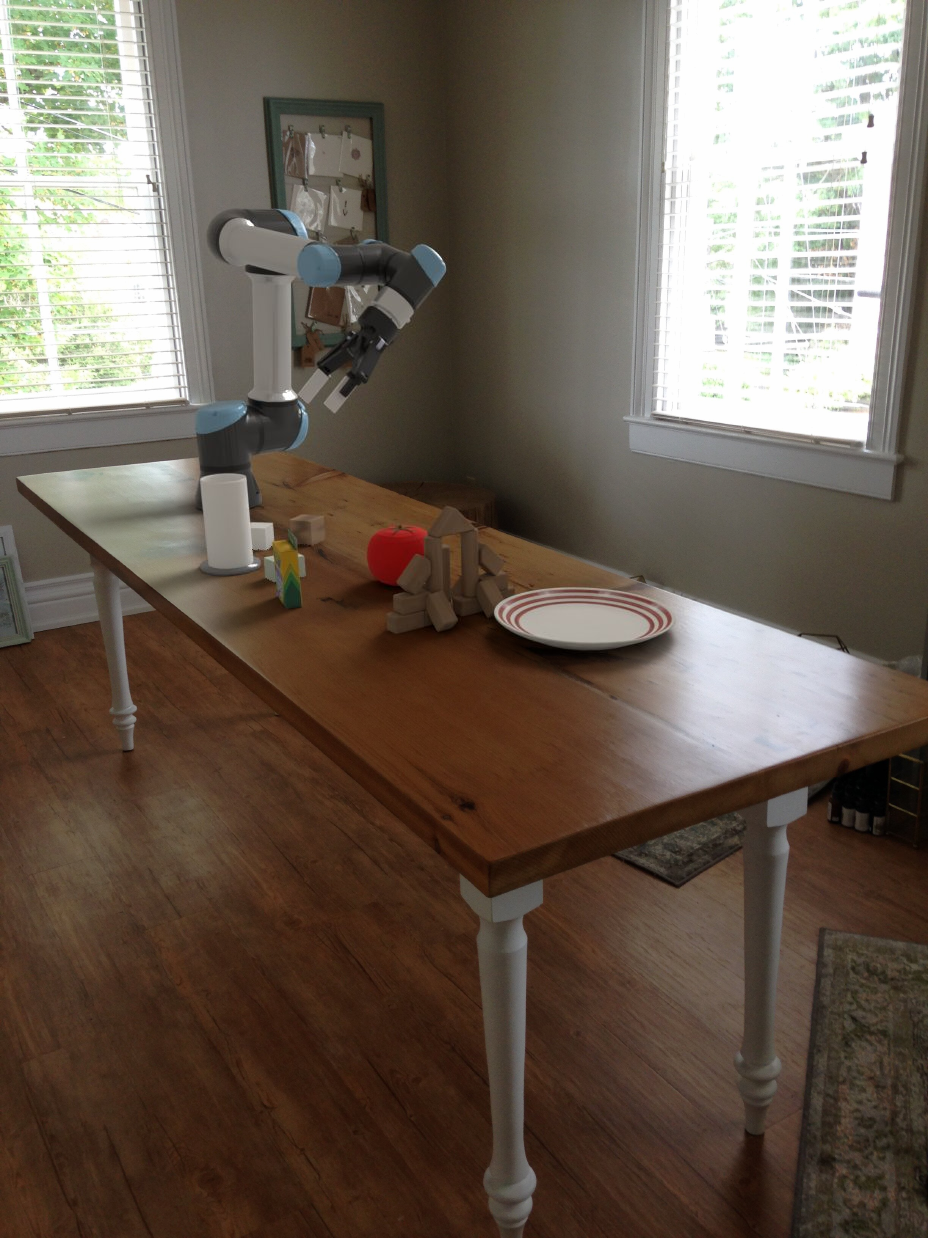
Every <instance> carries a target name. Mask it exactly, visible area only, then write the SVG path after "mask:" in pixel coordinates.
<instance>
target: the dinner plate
mask: <svg viewBox="0 0 928 1238" xmlns="http://www.w3.org/2000/svg"><path fill="white" fill-rule="evenodd" d="M494 616H495V617H494V618H495V619H496V621H497V622H498V623H499V624H500V625H501V626H502V627H504V628H505V629H507V630H508V631H510V632H512V633H514V634H515V635H518V636H520V637H522V638H525V639H527V640H531V641H533V642H537V643H540V644H543V645H546V646H549V647H550V646H551V647H554V648H559V649H565V650H574V651H601V650H602V651H604V650H613V649H617V648H622V647H623V648H624V647H626V646H631V645H634V644H639V643H642V642H645V641H648V640H651V639H654V638H656V637H659V636H660V635H663V634H664V633H666V632H667V631H670V630H671V629H672V628H673V627H674V626H675V624H676V622H677V619H676V618H677V617H676V614H675V613H674V611H673V609H671V608H670V607H669V606H667V605H665V604H663V603H662V602H660V601H657V600H655V599H652V598H649V597H647V596H644V595H640V594H635V593H633V592H632V593H631V592H627V591H621V590H615V589H614V590H613V589H607V588H597V587H596V588H594V587H575V586H574V587H570V586H569V587H553V588H552V587H551V588H542V589H536V590H530V591H526V592H521V593H518V594H515V595H514V596H511V597H509V598H507V599H505V600H503V601H501V602H500V603H499V604H498V605H497V606H496V607H495V610H494Z"/></svg>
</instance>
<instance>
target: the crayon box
mask: <svg viewBox="0 0 928 1238" xmlns="http://www.w3.org/2000/svg"><path fill="white" fill-rule="evenodd" d="M287 536H288V537H287V539H283V540H274V541H273V542H272V544H273V546H272V552H273V553H272V554H273V556H274V565H275V576H276V583H275V587H276V595H277V597H278V599H279V600H280V602H281V603H282V604H283V606H284V607H285V609H286V610H288V609H296V608H302V607H303V598H302V587H301V578H300V574H299V561H298V554H299V550H298V544H297V538H296V537H295V536H294V535H293V534H292V533H291V532H290V529H289V528H287ZM291 537H292V538H293V539H294V542H292V540H291Z"/></svg>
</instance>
